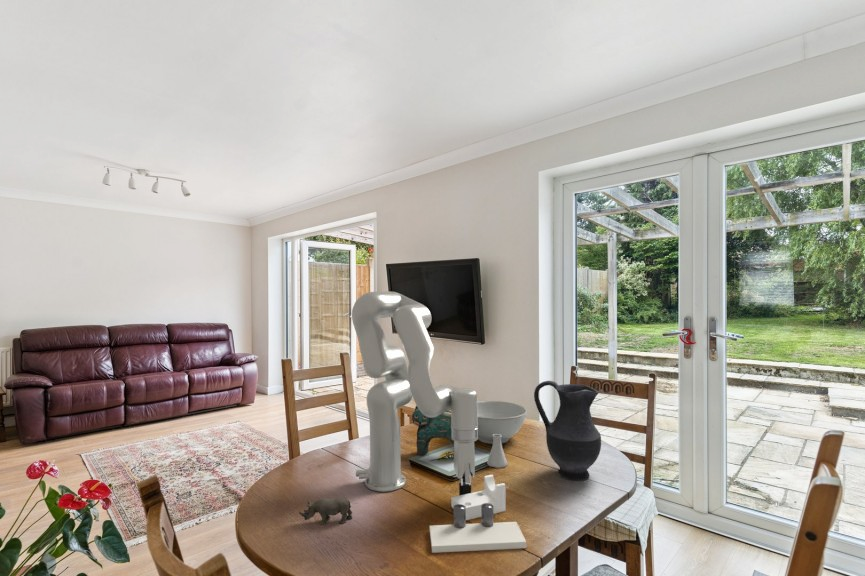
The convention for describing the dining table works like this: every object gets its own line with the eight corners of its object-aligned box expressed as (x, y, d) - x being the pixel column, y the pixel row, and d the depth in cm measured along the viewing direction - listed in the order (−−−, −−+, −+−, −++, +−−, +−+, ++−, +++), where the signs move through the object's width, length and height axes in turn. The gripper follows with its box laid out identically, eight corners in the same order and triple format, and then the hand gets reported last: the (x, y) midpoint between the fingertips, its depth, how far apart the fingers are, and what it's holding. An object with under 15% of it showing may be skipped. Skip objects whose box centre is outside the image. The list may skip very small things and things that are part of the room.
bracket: (492, 500, 128) (492, 474, 128) (505, 512, 121) (505, 484, 122) (451, 510, 123) (451, 482, 123) (463, 522, 116) (463, 493, 116)
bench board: (432, 552, 102) (432, 546, 102) (429, 531, 111) (429, 525, 111) (526, 548, 104) (526, 541, 104) (516, 527, 113) (516, 521, 113)
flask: (507, 469, 150) (507, 439, 150) (486, 467, 151) (485, 438, 151) (508, 461, 157) (508, 432, 157) (487, 459, 158) (487, 431, 158)
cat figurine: (411, 455, 163) (411, 400, 163) (417, 449, 169) (417, 396, 169) (464, 461, 156) (463, 404, 157) (468, 455, 163) (468, 400, 163)
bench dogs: (454, 534, 110) (454, 510, 110) (453, 528, 113) (452, 504, 113) (494, 533, 110) (494, 508, 110) (492, 526, 113) (492, 502, 113)
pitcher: (602, 489, 134) (601, 389, 134) (532, 480, 141) (531, 385, 141) (600, 467, 150) (599, 378, 150) (537, 460, 157) (536, 375, 157)
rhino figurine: (300, 518, 118) (300, 496, 118) (352, 515, 120) (352, 493, 120) (297, 526, 114) (297, 503, 114) (351, 523, 115) (351, 500, 115)
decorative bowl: (536, 435, 184) (536, 405, 184) (511, 455, 162) (511, 422, 162) (478, 425, 199) (478, 397, 199) (448, 442, 176) (447, 412, 176)
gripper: (448, 425, 134) (449, 486, 134) (454, 442, 119) (455, 511, 119) (473, 424, 135) (473, 485, 135) (482, 441, 120) (483, 510, 120)
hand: (465, 497), depth 127 cm, fingers closed
